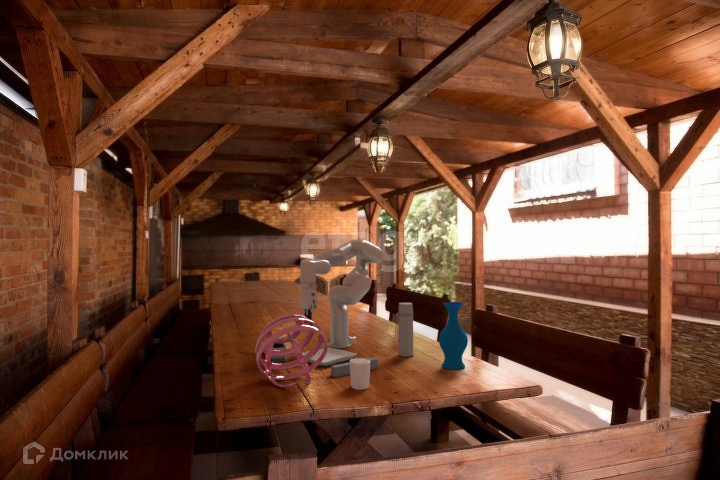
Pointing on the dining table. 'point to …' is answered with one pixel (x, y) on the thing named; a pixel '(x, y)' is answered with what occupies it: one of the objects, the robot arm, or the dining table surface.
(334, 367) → the rail
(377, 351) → the dining table surface
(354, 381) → the white cup
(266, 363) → the spiral basket
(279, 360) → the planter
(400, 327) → the water bottle
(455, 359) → the vase
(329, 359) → the salad plate
